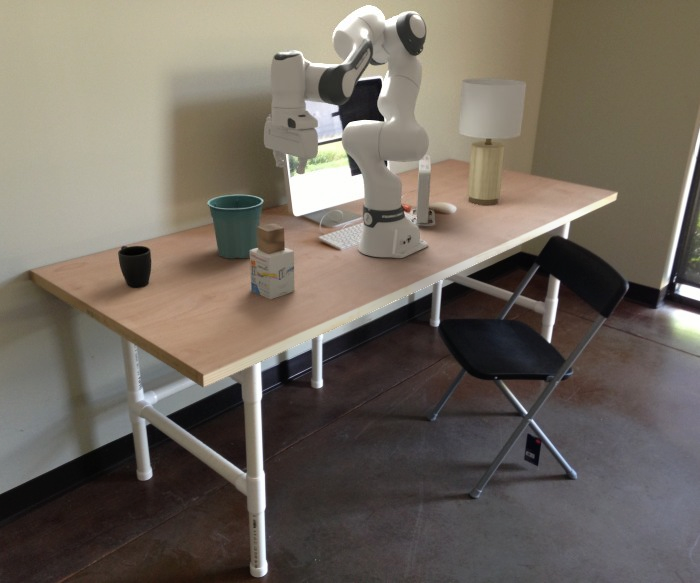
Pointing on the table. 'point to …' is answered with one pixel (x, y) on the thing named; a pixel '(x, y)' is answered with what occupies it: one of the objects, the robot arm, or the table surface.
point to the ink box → (272, 272)
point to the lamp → (489, 131)
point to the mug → (135, 265)
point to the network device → (424, 193)
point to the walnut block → (270, 238)
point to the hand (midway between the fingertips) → (290, 170)
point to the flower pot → (236, 224)
